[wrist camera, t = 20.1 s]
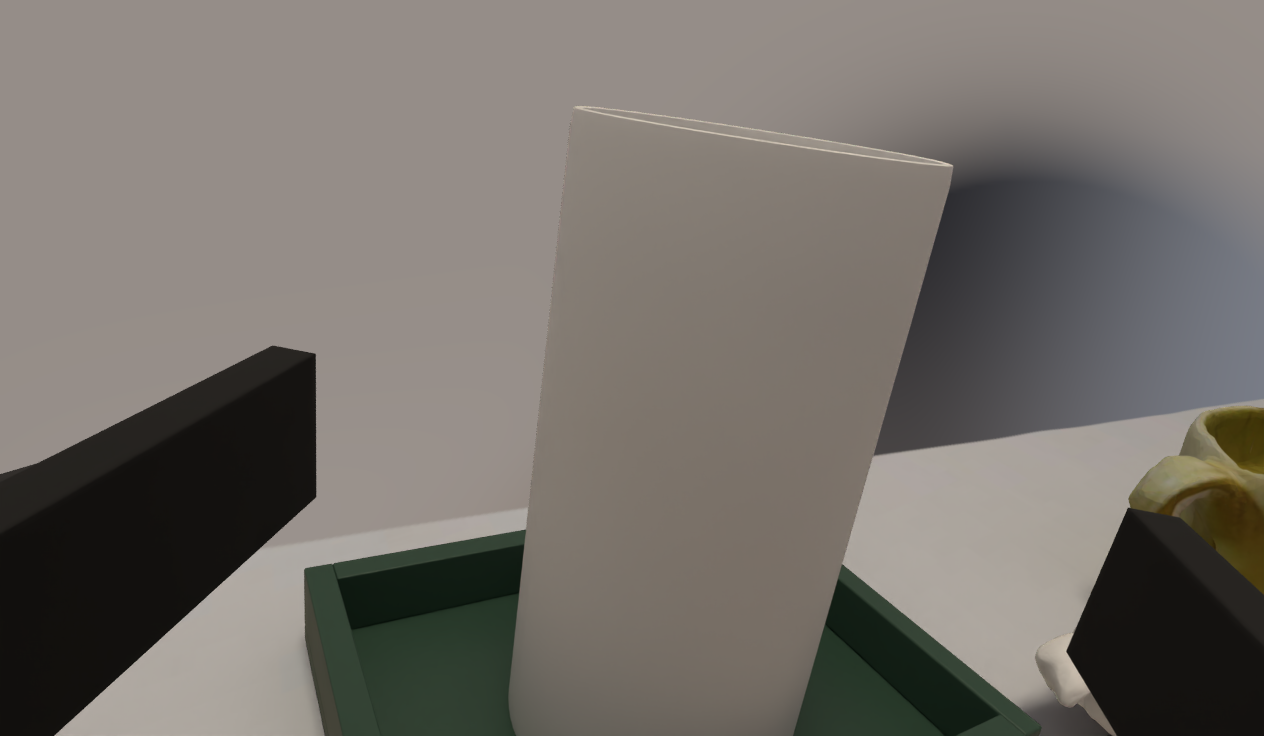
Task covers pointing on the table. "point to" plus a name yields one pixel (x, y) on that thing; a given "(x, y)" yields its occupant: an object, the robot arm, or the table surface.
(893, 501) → the table surface
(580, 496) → the cup
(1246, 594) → the robot arm
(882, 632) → the tray
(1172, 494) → the mug
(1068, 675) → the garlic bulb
